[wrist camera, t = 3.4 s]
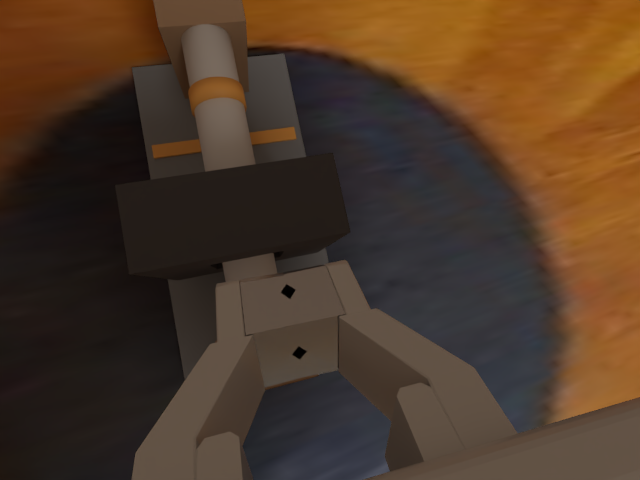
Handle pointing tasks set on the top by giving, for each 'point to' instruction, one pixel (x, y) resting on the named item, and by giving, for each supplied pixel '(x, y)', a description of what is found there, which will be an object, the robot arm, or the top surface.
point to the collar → (230, 216)
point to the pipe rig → (215, 135)
